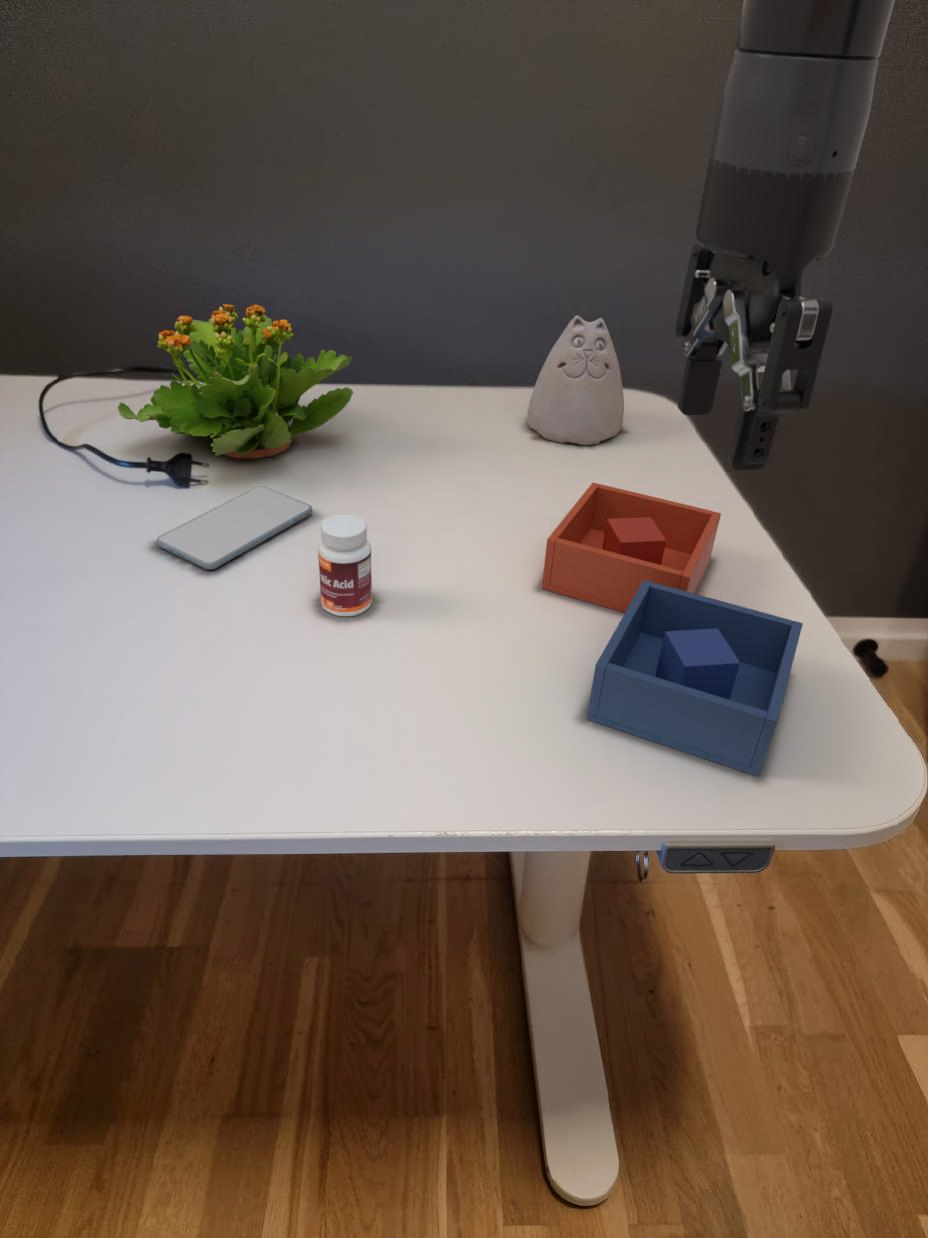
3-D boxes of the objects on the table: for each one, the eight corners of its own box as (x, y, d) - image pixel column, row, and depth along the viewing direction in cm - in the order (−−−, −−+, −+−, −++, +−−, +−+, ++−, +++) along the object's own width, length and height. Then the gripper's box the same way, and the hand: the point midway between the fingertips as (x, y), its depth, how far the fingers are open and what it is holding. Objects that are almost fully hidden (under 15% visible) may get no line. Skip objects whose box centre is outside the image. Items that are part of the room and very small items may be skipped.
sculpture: (562, 454, 110) (576, 335, 101) (509, 421, 118) (518, 308, 109) (638, 436, 115) (658, 322, 107) (583, 405, 123) (598, 297, 115)
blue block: (706, 671, 74) (718, 627, 71) (727, 706, 70) (740, 662, 67) (655, 674, 73) (664, 631, 70) (674, 710, 69) (684, 666, 67)
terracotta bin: (709, 560, 90) (721, 512, 87) (678, 628, 80) (690, 577, 77) (585, 528, 94) (592, 481, 91) (541, 588, 84) (546, 539, 81)
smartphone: (152, 538, 87) (260, 483, 97) (153, 547, 87) (261, 491, 98) (209, 566, 83) (315, 506, 93) (210, 574, 84) (316, 514, 94)
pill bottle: (311, 610, 80) (305, 530, 75) (336, 584, 83) (332, 507, 78) (357, 623, 78) (354, 543, 73) (381, 596, 82) (379, 518, 77)
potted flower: (250, 392, 122) (236, 262, 112) (393, 430, 113) (392, 293, 103) (114, 456, 104) (83, 307, 94) (272, 507, 95) (256, 350, 85)
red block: (643, 556, 89) (651, 516, 86) (658, 580, 85) (666, 540, 83) (600, 558, 88) (606, 518, 86) (613, 582, 85) (620, 542, 82)
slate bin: (785, 675, 75) (803, 622, 72) (758, 777, 65) (777, 721, 61) (633, 630, 79) (643, 579, 76) (586, 719, 69) (595, 664, 66)
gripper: (923, 179, 41) (825, 487, 50) (787, 138, 52) (728, 396, 62) (775, 176, 40) (704, 491, 49) (669, 135, 51) (628, 397, 61)
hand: (717, 438), depth 56 cm, fingers open, 8 cm apart
